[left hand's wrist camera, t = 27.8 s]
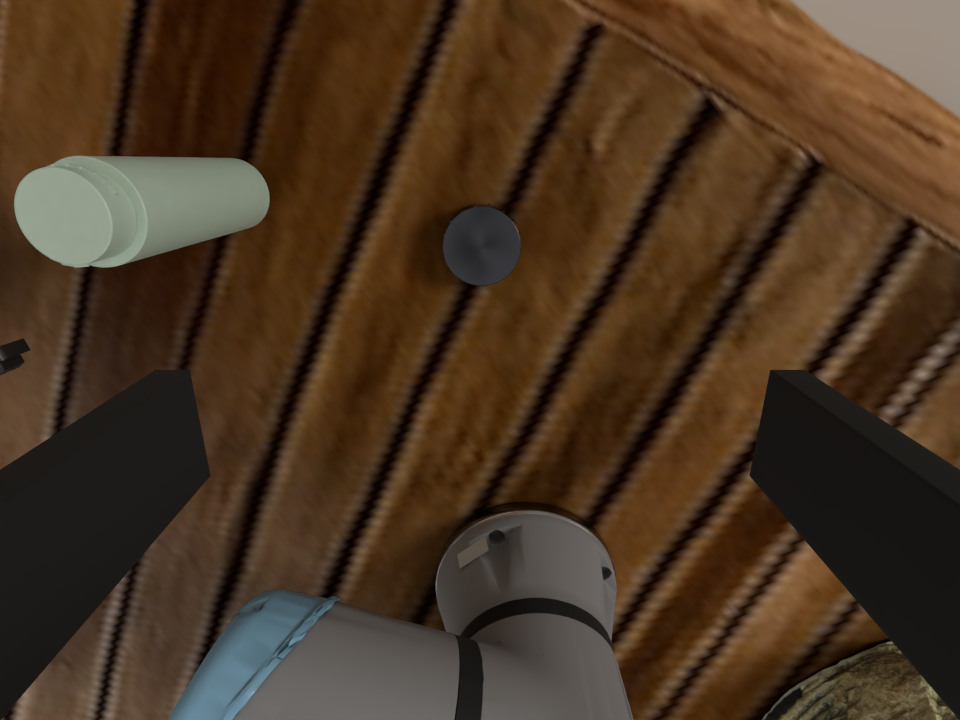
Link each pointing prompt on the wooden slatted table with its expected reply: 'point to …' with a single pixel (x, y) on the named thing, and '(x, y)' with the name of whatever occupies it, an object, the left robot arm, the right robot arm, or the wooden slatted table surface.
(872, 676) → the fossil
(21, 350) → the right robot arm
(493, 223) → the lid
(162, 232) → the pale green cylinder
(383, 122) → the wooden slatted table surface
